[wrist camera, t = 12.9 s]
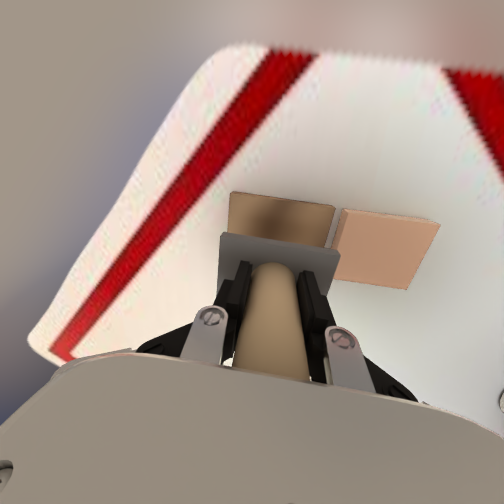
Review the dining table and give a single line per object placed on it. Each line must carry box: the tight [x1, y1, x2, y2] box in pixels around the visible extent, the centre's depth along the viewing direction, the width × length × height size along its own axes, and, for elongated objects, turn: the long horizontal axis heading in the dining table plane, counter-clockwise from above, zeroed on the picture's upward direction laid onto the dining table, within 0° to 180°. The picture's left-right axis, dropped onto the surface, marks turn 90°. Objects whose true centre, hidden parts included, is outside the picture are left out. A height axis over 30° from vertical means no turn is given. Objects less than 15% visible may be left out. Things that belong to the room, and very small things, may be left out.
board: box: [227, 191, 336, 248], centre depth 21 cm, size 10×7×1 cm
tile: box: [331, 209, 440, 290], centre depth 21 cm, size 2×7×8 cm
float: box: [216, 232, 341, 381], centre depth 10 cm, size 7×5×8 cm
